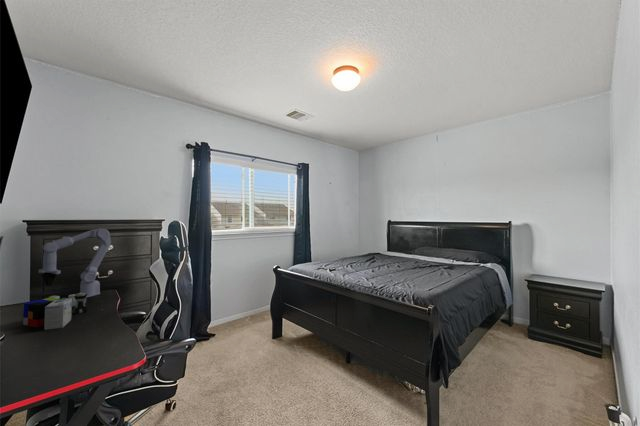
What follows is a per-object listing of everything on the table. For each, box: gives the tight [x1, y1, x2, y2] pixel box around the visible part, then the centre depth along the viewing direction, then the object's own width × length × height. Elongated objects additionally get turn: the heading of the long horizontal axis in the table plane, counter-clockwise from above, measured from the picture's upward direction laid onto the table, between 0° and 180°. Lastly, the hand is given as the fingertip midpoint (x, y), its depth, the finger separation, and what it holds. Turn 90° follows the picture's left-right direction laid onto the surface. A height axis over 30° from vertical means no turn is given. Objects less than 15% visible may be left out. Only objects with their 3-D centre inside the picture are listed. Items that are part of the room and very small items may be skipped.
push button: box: [71, 292, 87, 314], centre depth 144 cm, size 7×5×10 cm
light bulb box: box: [43, 298, 73, 331], centre depth 127 cm, size 11×7×11 cm, turn 27°
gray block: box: [48, 295, 61, 299], centre depth 155 cm, size 3×4×4 cm, turn 77°
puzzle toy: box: [22, 297, 62, 328], centre depth 130 cm, size 10×10×10 cm
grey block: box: [68, 293, 77, 301], centre depth 158 cm, size 3×4×4 cm, turn 77°
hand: (49, 285), depth 160 cm, fingers closed
